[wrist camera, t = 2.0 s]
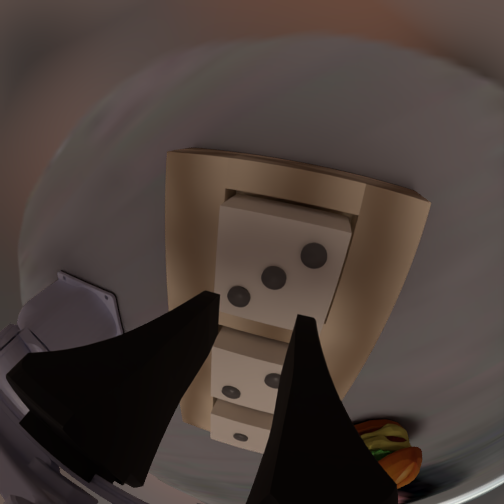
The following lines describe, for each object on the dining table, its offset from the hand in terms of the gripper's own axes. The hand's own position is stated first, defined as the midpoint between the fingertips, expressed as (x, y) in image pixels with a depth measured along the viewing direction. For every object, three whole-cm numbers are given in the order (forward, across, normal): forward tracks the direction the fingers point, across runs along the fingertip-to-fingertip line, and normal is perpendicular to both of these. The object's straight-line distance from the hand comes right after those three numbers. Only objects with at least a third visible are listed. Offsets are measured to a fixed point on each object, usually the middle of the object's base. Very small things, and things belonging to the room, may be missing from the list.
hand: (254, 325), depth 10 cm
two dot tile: (+6, 0, +9) cm, 11 cm away
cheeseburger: (+9, -15, +21) cm, 27 cm away
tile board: (+8, 0, +9) cm, 12 cm away
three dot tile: (+6, 0, 0) cm, 6 cm away
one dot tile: (+6, 0, +18) cm, 19 cm away
